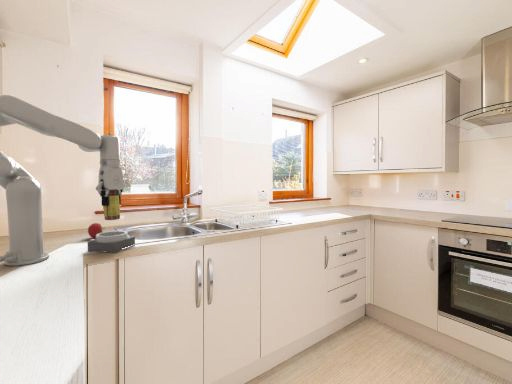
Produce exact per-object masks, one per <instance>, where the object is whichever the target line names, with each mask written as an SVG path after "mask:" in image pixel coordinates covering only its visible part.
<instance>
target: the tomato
mask: <svg viewBox="0 0 512 384" xmlns="http://www.w3.org/2000/svg"><path fill="white" fill-rule="evenodd" d="M104 229H106V228H105V227H104V228H103V227H102V225H101V223H98V222H94V223H91V224H90V225H89V226H88V228H87V233H88V236H89V237H91V239H96V235H97V234H99V233H102V232H103V230H104Z"/></svg>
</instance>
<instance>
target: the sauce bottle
mask: <svg viewBox="0 0 512 384" xmlns="http://www.w3.org/2000/svg"><path fill="white" fill-rule="evenodd" d="M105 189H106V188H105ZM104 192H106V191H104ZM107 197H109V206H102V207H103V216H104V220H105V221H114V220H120V219H121V209H120V208H121V207H120V205H121V204H119V193H118V191H117V189H116V190H109V193H108V196H107Z"/></svg>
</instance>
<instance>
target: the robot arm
mask: <svg viewBox="0 0 512 384" xmlns="http://www.w3.org/2000/svg"><path fill="white" fill-rule="evenodd" d="M15 124H17V125H19V126H22V127H24V128H26V129H27V128H28V129H30V130H32V131H35V132H37V133H38V134H41V135H44V136H48V137H54V138H59V139H62V140H65V141H68V142H70V143H73V144H75V145H77V146H78V148H79V149H81V151H84V152H87V153H96V152H99V160H100V161H99V165H100V167H99V171H98V184H97V186H96V187H95V190H96V191H97V192H98V194H99V196H100V198H101V206H102V207H103V206H109V197H107V196H108V193H109V190H116V189H117V191H118V193H119V204H120V205H122V202H121V200H122V199H121V196H122V193H123V191H124V189H125V185H124V175H123V170H122V167H121V161H120V160H121V157H120V156H121V155H120V153H121V152H120V138H119V136H116V135H110V134H103V135H101V136H100V135H99V134H98V133H96V132H95V131H93V130H92V129H89V128H87V127H85V126H83V125H81V124H79V123H76V122H73V121H71V120H69V119H65V118H63V117H60V116H58V115H55V114H54V113H50V112H48V111H46V110H44V109H41V108H40V107H37V106H36V105H33V104H31V103H29V102H26V101H25V100H23V99H20V98H18V97H16V96H13V95H7V94H3V95H0V127H5V126H10V125H15ZM0 186H1V187H2V188H3V189H4V190H5V198H6V209H7V224H8V228H7V229H8V246H9V247H8V248H9V250H8V251H6V252H5V254H3V255H0V263H1V262H3V264H4V266H9V267H12V266H23V265H24V266H25V265H31V264H35V263H39V262H43V261H45V260H47V259H49V257H50V254H49V253H47V252H44V251H45V249H44V233H43V231H44V229H43V227H44V226H43V210H42V209H43V206H42V186H41V184H40V182H39V181H38V180H37V179H36V178H35V177H33V175H31V174H30V173H29V172H28V171H27V170H26V169H25V168H24V167H23V166H22V165H20V164H19V162H18V161H16V160H15V159H14V158H13V157H11V156H9V154H6V153H4V152H3V151H2V150H1V149H0ZM105 188H106V189H105ZM104 191H106V192H104Z"/></svg>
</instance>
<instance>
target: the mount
mask: <svg viewBox="0 0 512 384" xmlns="http://www.w3.org/2000/svg"><path fill="white" fill-rule="evenodd" d="M128 235H129V234H128V231H125V230H110V231H102V233H99V234H97V235H96V238H91V239H89V241H87V251H88V252H92V251H106V252H105V253H107V252H108V253H111V254H115V253H118V252H121V251H122V250H121V249H122V248H125V247H128V246H131V245H133V244H135V245H136V238H135V237H136V236H130V235H129V236H128ZM131 247H132V246H131ZM120 250H121V251H120Z"/></svg>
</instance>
